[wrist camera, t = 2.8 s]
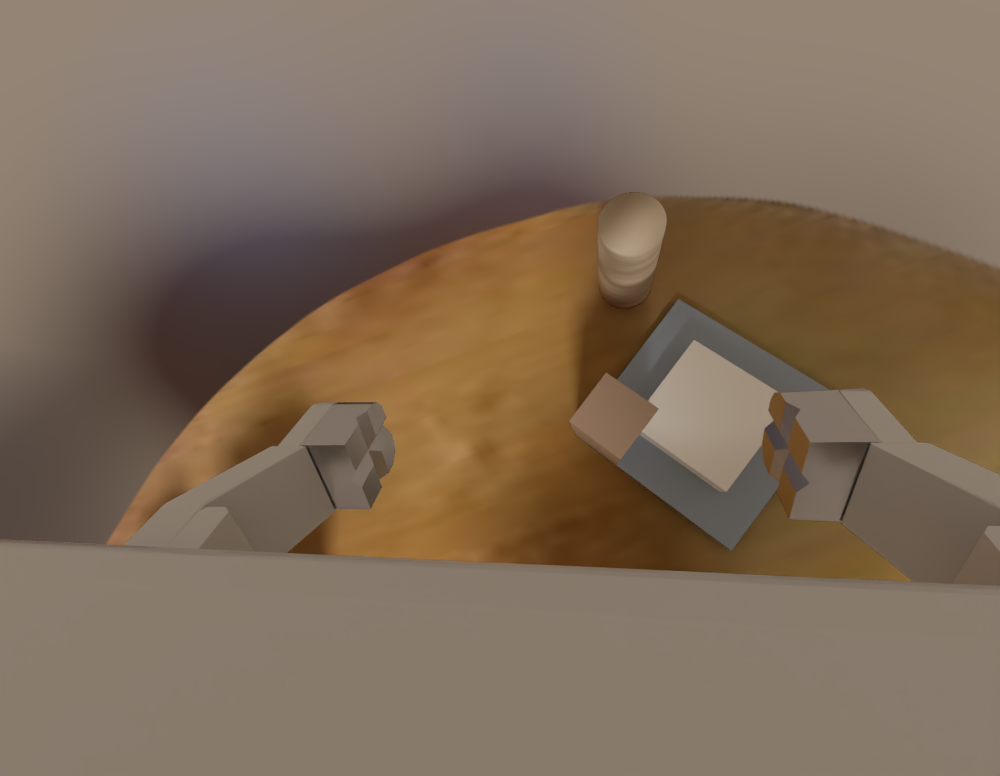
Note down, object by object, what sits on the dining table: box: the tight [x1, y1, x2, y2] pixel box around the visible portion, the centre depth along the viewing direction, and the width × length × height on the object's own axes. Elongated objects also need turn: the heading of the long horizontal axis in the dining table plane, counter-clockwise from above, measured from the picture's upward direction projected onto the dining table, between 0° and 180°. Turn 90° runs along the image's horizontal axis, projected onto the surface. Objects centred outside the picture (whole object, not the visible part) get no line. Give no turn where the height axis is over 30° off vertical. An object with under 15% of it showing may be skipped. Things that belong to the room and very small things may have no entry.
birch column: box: [598, 192, 667, 308], centre depth 36 cm, size 4×4×10 cm
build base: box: [569, 299, 830, 551], centre depth 33 cm, size 14×14×9 cm
